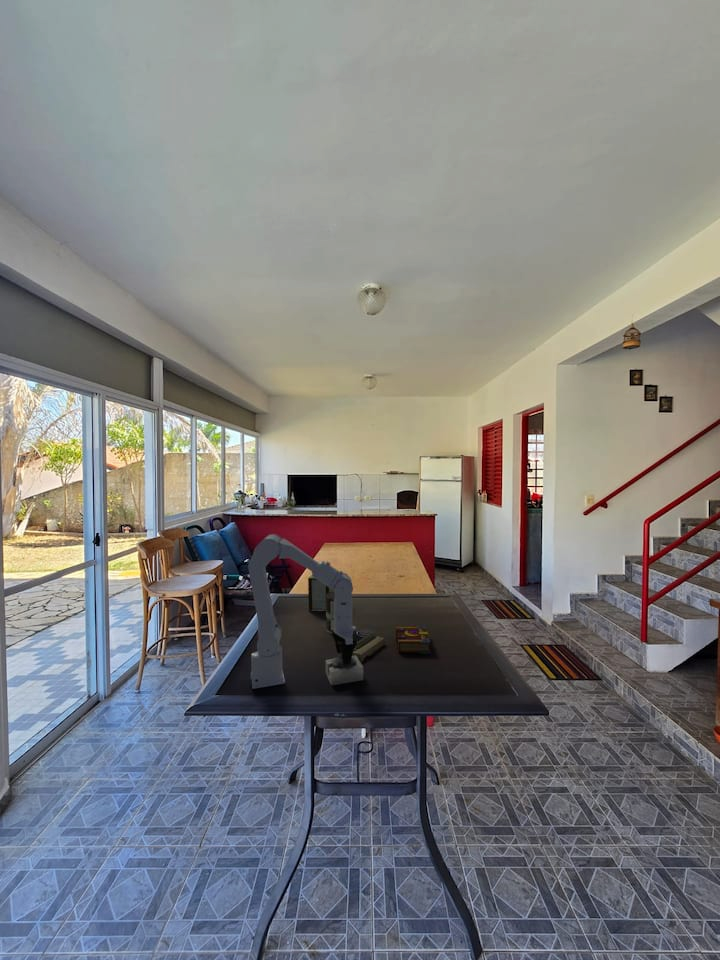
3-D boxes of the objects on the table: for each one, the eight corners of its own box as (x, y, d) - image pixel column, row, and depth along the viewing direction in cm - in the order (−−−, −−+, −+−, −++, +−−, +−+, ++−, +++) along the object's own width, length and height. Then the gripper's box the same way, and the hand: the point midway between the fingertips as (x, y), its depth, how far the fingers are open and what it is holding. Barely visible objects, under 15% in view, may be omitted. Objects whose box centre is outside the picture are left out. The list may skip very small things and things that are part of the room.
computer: (366, 640, 148) (366, 632, 148) (385, 646, 144) (385, 637, 143) (341, 657, 135) (341, 648, 135) (361, 663, 131) (361, 654, 130)
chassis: (331, 685, 116) (331, 672, 116) (325, 672, 124) (325, 659, 124) (363, 679, 119) (363, 666, 119) (356, 667, 127) (355, 655, 127)
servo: (332, 679, 119) (332, 660, 119) (330, 674, 122) (329, 655, 122) (356, 675, 121) (356, 656, 121) (353, 670, 124) (353, 652, 124)
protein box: (339, 601, 192) (339, 570, 192) (329, 612, 177) (329, 578, 177) (319, 600, 195) (319, 569, 194) (308, 611, 180) (307, 577, 180)
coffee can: (320, 630, 157) (320, 595, 157) (336, 622, 165) (336, 589, 165) (341, 636, 151) (340, 600, 151) (356, 628, 159) (356, 593, 159)
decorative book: (397, 654, 136) (397, 640, 136) (395, 635, 152) (395, 622, 152) (430, 654, 136) (430, 640, 136) (424, 635, 152) (424, 622, 152)
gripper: (362, 621, 116) (362, 667, 116) (349, 605, 129) (349, 646, 130) (339, 624, 114) (339, 670, 114) (328, 607, 127) (329, 649, 128)
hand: (343, 658), depth 122 cm, fingers open, 7 cm apart
